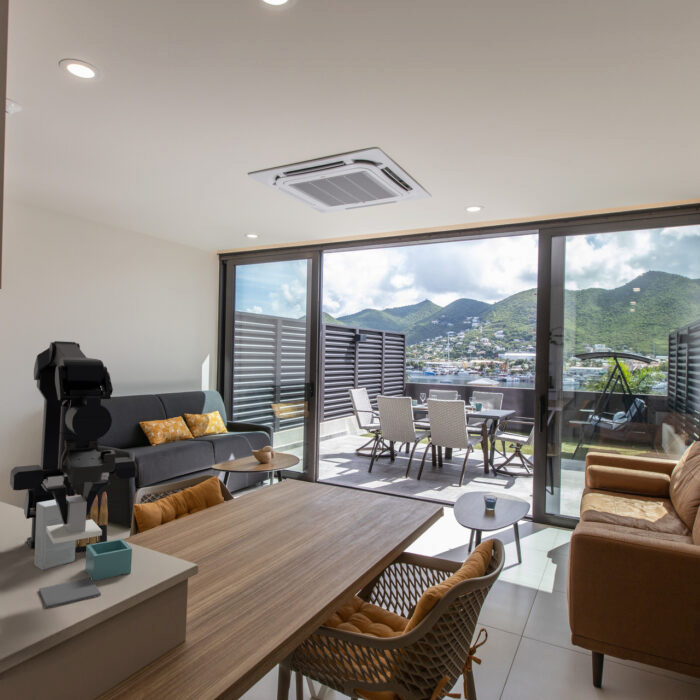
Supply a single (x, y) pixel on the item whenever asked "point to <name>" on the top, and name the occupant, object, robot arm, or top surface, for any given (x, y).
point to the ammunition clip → (102, 523)
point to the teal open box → (108, 559)
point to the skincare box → (44, 547)
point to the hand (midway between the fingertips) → (74, 522)
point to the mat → (69, 592)
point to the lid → (74, 523)
